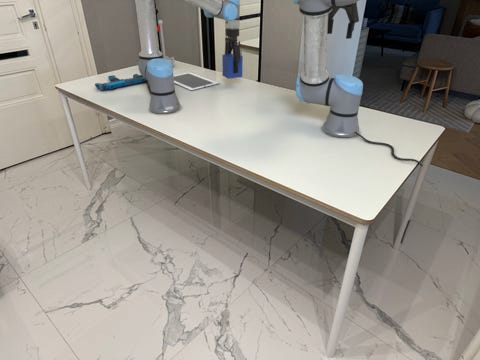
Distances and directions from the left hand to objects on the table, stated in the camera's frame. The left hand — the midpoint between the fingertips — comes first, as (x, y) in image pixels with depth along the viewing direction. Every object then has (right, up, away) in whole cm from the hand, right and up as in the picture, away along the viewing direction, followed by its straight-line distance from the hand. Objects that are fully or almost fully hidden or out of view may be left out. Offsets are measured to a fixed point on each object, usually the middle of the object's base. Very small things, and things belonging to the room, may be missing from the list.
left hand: (232, 70), depth 196 cm
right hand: (+52, +6, -33) cm, 62 cm away
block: (0, -3, +2) cm, 3 cm away
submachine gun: (-67, -3, +13) cm, 68 cm away
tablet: (-26, -2, +15) cm, 30 cm away
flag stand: (-48, +17, +44) cm, 68 cm away
